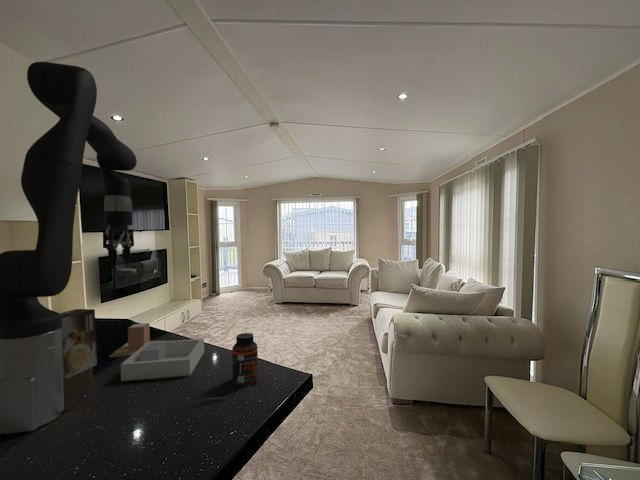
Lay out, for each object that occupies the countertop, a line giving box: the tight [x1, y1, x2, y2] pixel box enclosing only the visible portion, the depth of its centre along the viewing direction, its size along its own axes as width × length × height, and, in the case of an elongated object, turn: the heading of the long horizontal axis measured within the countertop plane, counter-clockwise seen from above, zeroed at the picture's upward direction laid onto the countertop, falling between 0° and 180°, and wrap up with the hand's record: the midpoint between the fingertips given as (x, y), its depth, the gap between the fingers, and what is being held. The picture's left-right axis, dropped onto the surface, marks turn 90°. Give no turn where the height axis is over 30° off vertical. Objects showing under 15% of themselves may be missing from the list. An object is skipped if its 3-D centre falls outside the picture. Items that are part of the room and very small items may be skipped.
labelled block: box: [127, 322, 151, 351], centre depth 96 cm, size 4×4×7 cm
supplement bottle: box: [231, 332, 259, 386], centre depth 74 cm, size 6×6×11 cm
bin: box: [120, 338, 205, 382], centre depth 84 cm, size 16×16×5 cm
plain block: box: [141, 344, 165, 362], centre depth 83 cm, size 4×4×5 cm
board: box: [107, 339, 167, 359], centre depth 97 cm, size 12×12×1 cm
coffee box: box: [58, 308, 98, 380], centre depth 81 cm, size 9×6×16 cm
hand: (120, 260), depth 99 cm, fingers open, 8 cm apart
